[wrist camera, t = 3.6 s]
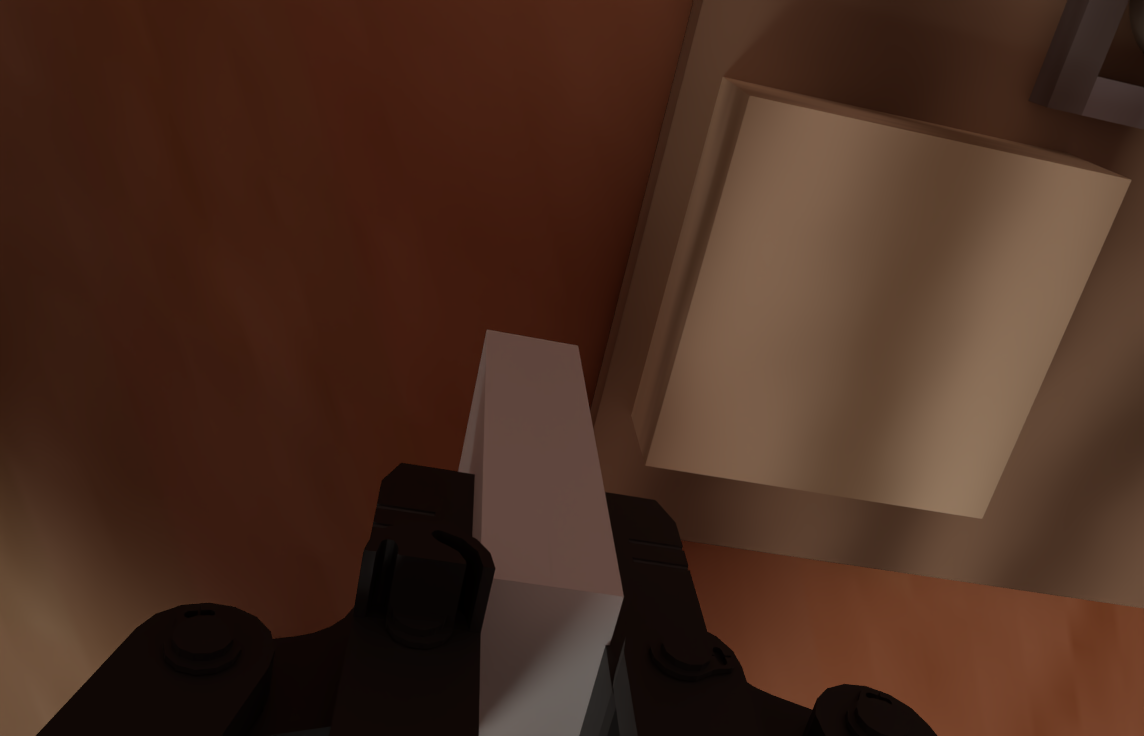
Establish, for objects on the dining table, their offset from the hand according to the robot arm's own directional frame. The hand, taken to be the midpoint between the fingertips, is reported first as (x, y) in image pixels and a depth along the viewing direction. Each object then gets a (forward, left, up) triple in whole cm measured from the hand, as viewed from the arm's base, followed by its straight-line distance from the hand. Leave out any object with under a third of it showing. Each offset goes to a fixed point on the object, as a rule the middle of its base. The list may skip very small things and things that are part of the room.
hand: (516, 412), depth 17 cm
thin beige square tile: (+10, 0, -12) cm, 15 cm away
